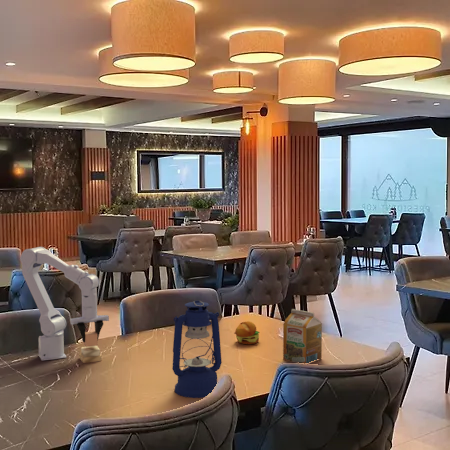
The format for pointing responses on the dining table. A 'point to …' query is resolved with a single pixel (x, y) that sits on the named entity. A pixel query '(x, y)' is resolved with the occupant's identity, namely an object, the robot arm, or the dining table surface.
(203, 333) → the lantern
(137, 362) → the dining table surface
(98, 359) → the bottom block
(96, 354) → the top block
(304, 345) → the milk carton
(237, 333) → the cheeseburger
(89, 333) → the cube
